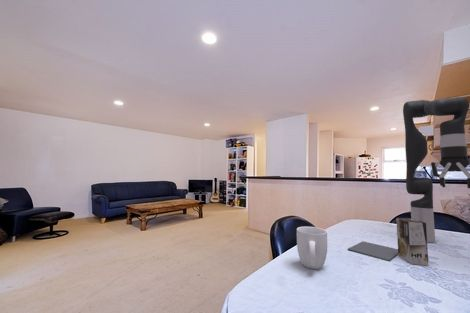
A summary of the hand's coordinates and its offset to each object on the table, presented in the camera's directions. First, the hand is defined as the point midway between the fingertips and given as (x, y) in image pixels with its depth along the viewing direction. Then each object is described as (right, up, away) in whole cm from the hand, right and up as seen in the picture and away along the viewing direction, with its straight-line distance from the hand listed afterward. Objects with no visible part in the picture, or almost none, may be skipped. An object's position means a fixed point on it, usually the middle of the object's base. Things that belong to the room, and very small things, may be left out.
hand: (456, 187), depth 85 cm
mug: (-60, -29, -6) cm, 66 cm away
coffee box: (-16, -30, +1) cm, 34 cm away
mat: (-25, -30, +12) cm, 41 cm away
